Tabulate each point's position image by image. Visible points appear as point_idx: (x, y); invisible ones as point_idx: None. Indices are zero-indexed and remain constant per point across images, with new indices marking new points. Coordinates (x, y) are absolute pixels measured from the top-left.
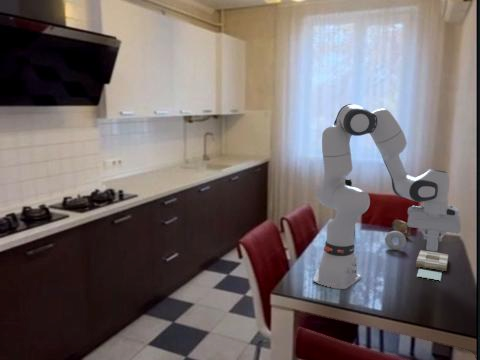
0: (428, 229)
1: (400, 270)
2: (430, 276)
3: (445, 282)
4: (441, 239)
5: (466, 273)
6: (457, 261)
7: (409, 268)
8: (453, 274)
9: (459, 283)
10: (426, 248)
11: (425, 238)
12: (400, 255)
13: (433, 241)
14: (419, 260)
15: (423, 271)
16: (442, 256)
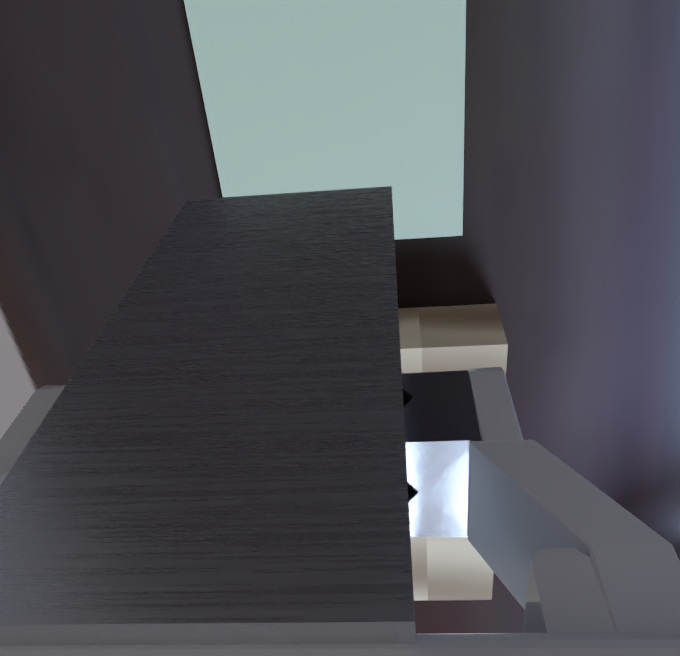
0: (376, 616)
1: (667, 94)
2: (311, 59)
3: (136, 10)
4: (23, 417)
5: (67, 376)
6: None
7: (561, 220)
8: None
9: (15, 79)
10: (387, 200)
11: (448, 379)
12: (651, 497)
13: (219, 302)
14: (477, 358)
15: (407, 180)
16: None
